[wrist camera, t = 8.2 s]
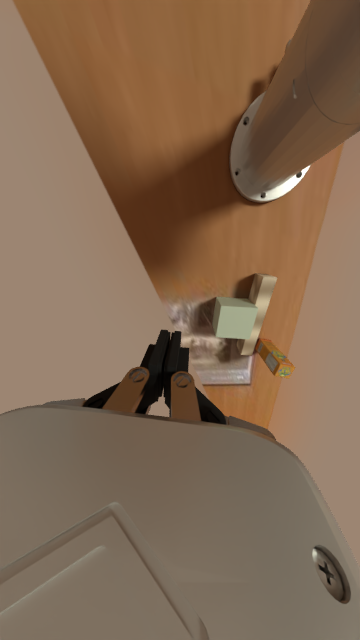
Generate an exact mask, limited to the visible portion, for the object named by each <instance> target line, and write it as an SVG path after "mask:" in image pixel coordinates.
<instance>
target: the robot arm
mask: <svg viewBox="0 0 360 640" xmlns="http://www.w3.org/2000/svg"><path fill="white" fill-rule="evenodd" d="M244 124H246V126H245V125H244ZM359 131H360V0H311V1H310V3H309V5H308V7H307V9H306V11H305V13H304V15H303V17H302V19H301V22H300V24H299V26H298V28H297V30H296V32H295V34H294V36H293V38H292V39H291V40H290V41H289V42H288V43H287V45H286V49H285V54H284V56H283V58H282V60H281V63H280V65H279V67H278V69H277V71H276V73H275V75H274V77H273V79H272V81H271V83H270V85H269V87H268V89H267V90H266V91H265V92H264V93H262V94H261V95H259V96H258V97H257V98H256V99H255V100H254V101H253V102H252V103H251V105H250V106H249V107H248V109H247V110H246V112H245V113H244V114H243V116H242V118H241V120H240V122H239V124H238V126H237V129H236V131H235V134H234V137H233V140H232V144H231V149H230V156H229V167H230V173H231V177H232V180H233V183H234V185H235V187H236V189H237V191H238V192H239V193H240V194H241V195H242V196H243V197H245V198H246V199H248V200H250V201H253V202H258V203H265V202H270V201H273V200H276V199H278V198H280V197H282V196H283V195H285V194H286V193H288V192H289V191H291V190H292V189H293V188H294V187H295V186H296V185H297V184H298V183H299V182H300V181H301V179H302V178H303V177H304V175H305V174H306V172H307V171H308V169H309V167H310V165H311V164H313V163H314V162H315V161H317V160H318V159H320V158H321V157H323V156H324V155H326V154H327V153H329V152H330V151H331V150H333V149H334V148H336V147H337V146H339V145H340V144H342V143H343V142H345V141H346V140H347V139H349V138H350V137H352V136H353V135H355V134H356V133H357V132H359ZM235 173H237V174H238V175H237V176H236V175H235ZM296 176H297V178H296ZM260 195H262V198H261V197H260ZM180 344H181V331H175V333H172V336H171V339H170V332H168V330H161V331H160V334H159V337H158V340H157V342H156V345H153V344H150V345H149V347H148V349H147V351H146V354H145V356H144V358H143V360H142V363H141V365H140V367H136V368H133V369H131V370H130V371H129V372H128V373H127V374H126V376H125V377H124V378H123V380H122V381H121V382H120V383H118V384H116V385H114V386H112V387H110V388H108V389H106V390H104V391H102V392H100V393H98V394H96V395H94V396H92V397H91V398H89V399H88V400H85V398H81V399H71V400H61V401H51V402H47V403H45V404H43V405H35V406H27V407H23V408H19V409H15V410H11V411H8V412H5V413H3V414H0V640H360V567H359V565H358V563H357V561H356V559H355V557H354V555H353V553H352V551H351V549H350V547H349V545H348V543H347V541H346V539H345V537H344V535H343V533H342V531H341V529H340V527H339V526H338V523H337V522H336V519H335V517H334V516H333V514H332V512H331V510H330V508H329V506H328V504H327V502H326V501H325V499H324V497H323V495H322V493H321V491H320V490H319V488H318V486H317V484H316V483H315V481H314V480H313V478H312V476H311V475H310V473H309V471H308V470H307V469H306V467H305V466H304V464H303V463H302V462H301V460H300V459H299V458H298V457H297V456H296V455H295V454H294V453H293V452H292V451H291V450H289V449H288V448H287V447H285V446H284V445H282V444H281V443H279V442H277V441H276V439H275V437H274V436H273V434H272V433H271V432H270V431H268V430H267V429H265V428H263V427H261V426H258V425H255V424H252V423H249V422H246V421H244V420H241V419H238V418H235V417H232V416H229V417H227V416H224V415H223V413H222V412H221V411H220V410H219V409H218V408H217V407H216V406H215V405H214V404H213V403H212V402H211V401H210V400H208V399H207V398H206V397H205V396H204V395H203V394H202V393H201V392H200V391H199V390H198V389H197V388H196V387H195V384H194V379H193V377H192V376H191V375H190V374H189V373H188V361H189V348H182V347H180ZM163 387H164V397H165V404H166V405H167V406H168V407H169V409H170V411H169V412H170V413H169V414H170V416H169V417H162V416H154V415H148V413H149V411H150V408H151V405H152V404H153V403H154V402H156V401H158V398H159V397H161V396H162V392H163Z"/></svg>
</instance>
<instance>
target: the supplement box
mask: <svg viewBox="0 0 360 640" xmlns="http://www.w3.org/2000/svg"><path fill="white" fill-rule="evenodd" d="M255 349H256V350H257V352H258V353H259V355H260V356H261V358H262V359H263V360H264V362H265V363H266V365H267V366H268V368H269V369H270V371H271V372H272V374H273V375H274V376H280V377H285V378H288V379H289V377H290V376H291V374H292V372H293V370H294V369H295V367H294V366H293V364H292V363H291V362H290V361H289V360H288V359H287V358H286V357H285V356H284V354H283V353H282V352H281V351H280V350H279V349H278V348H277V347H276V346H275V345H274V343H273V342H272V341H271V340H266V339H259V340H258V343H257V345H256V347H255Z"/></svg>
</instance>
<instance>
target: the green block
mask: <svg viewBox="0 0 360 640" xmlns="http://www.w3.org/2000/svg"><path fill="white" fill-rule="evenodd" d="M257 312H258V307H257V306H256V305H254V304H253V303H252V302H251V301H250V300H249V299H245V298H228V297H216V303H215V309H214V316H213V322H212V325H213V329H214V332H215V336H216V337H222V338H237V339H250V336H251V332H252V329H253V326H254V322H255V319H256V315H257Z"/></svg>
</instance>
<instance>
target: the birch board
mask: <svg viewBox="0 0 360 640" xmlns="http://www.w3.org/2000/svg"><path fill="white" fill-rule="evenodd" d="M276 280H277V277H274V276H271V275H268V274H257V273H255V276H254V280H253V283H252V287H251V291H250V295H249V300H250V301H251V302H252V303H253V304H254V305H256V306H257V307H258V312H257V315H256V319H255V322H254V326H253V329H252V332H251V336H250V339H238V341H237V347H238V349H239V352H240V354H241V355H250V356H252V353H253V350H254V347H255V344H256V341H257V338H258V335H259V332H260V329H261V326H262V323H263V320H264V317H265V314H266V311H267V308H268V305H269V302H270V298H271V295H272V292H273V289H274V286H275V283H276Z"/></svg>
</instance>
